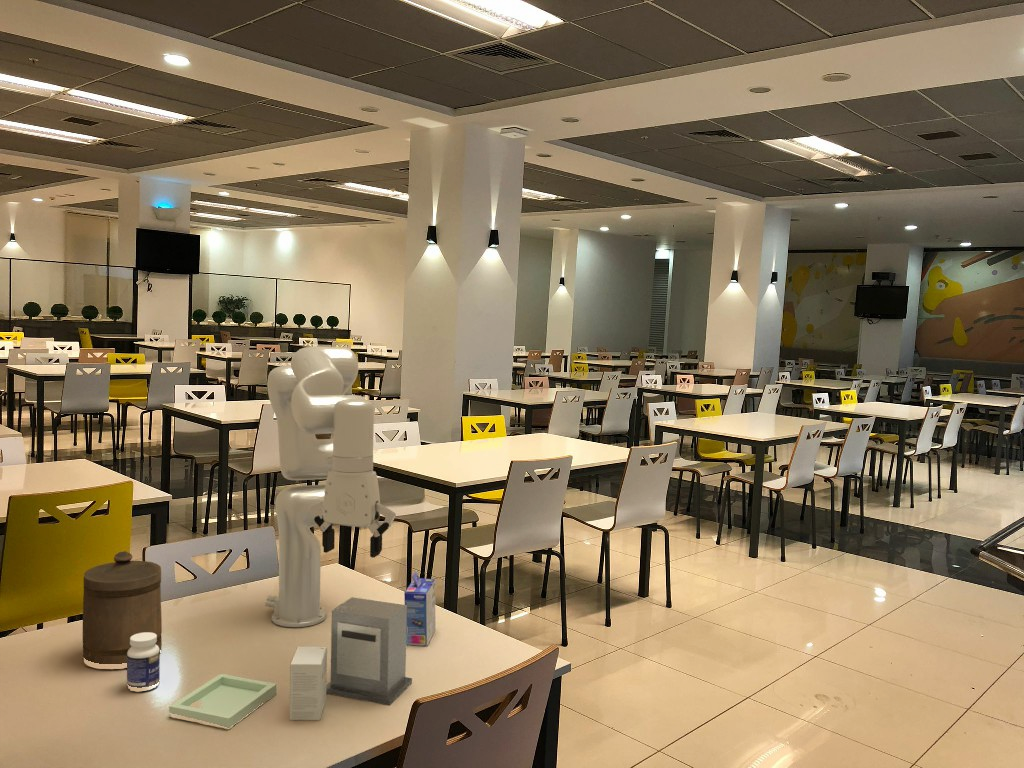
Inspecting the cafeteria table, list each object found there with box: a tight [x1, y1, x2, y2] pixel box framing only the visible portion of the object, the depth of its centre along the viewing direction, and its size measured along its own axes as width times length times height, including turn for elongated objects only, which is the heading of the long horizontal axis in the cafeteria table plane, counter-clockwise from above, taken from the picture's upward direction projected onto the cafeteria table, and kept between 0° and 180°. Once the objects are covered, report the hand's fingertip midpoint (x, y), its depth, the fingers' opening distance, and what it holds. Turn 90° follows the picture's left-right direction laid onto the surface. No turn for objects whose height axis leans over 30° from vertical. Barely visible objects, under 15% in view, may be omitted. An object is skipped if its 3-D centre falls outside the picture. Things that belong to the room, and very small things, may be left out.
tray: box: [168, 673, 277, 728], centre depth 151 cm, size 12×14×2 cm
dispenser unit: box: [326, 596, 413, 706], centre depth 160 cm, size 14×10×16 cm
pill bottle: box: [126, 632, 161, 688], centre depth 158 cm, size 6×6×10 cm
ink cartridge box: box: [403, 572, 436, 647], centre depth 186 cm, size 10×6×14 cm, turn 174°
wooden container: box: [82, 550, 163, 664], centre depth 171 cm, size 15×15×22 cm
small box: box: [289, 646, 328, 721], centre depth 150 cm, size 8×6×10 cm
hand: (351, 553), depth 158 cm, fingers open, 9 cm apart
